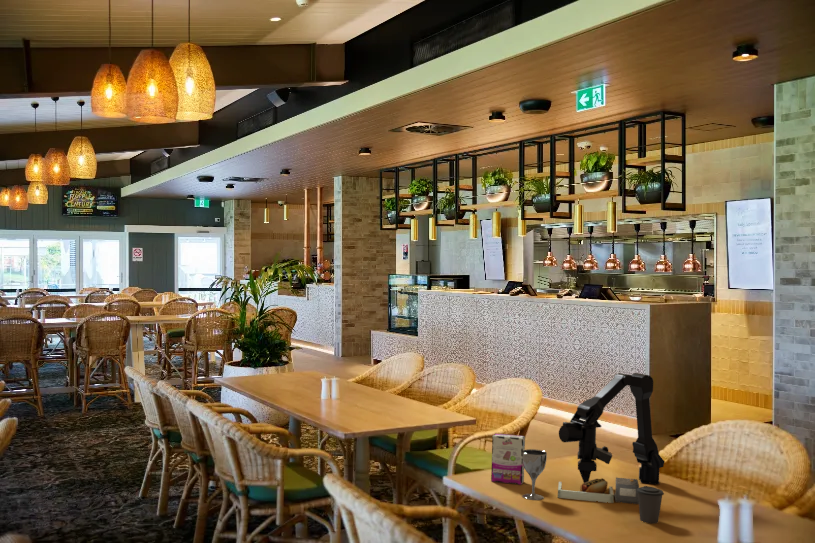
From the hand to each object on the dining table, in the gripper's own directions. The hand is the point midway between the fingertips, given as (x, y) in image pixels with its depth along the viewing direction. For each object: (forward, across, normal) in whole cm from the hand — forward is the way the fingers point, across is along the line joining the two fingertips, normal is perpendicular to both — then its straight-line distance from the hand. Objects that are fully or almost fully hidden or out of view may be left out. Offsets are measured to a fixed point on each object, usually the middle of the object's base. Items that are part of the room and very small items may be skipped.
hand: (586, 484), depth 272 cm
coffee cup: (+1, -30, -18) cm, 35 cm away
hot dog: (+2, -8, -3) cm, 8 cm away
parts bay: (+1, -9, 0) cm, 9 cm away
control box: (+1, -9, -13) cm, 16 cm away
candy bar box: (+1, 0, +27) cm, 27 cm away
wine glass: (+1, -17, +18) cm, 24 cm away
